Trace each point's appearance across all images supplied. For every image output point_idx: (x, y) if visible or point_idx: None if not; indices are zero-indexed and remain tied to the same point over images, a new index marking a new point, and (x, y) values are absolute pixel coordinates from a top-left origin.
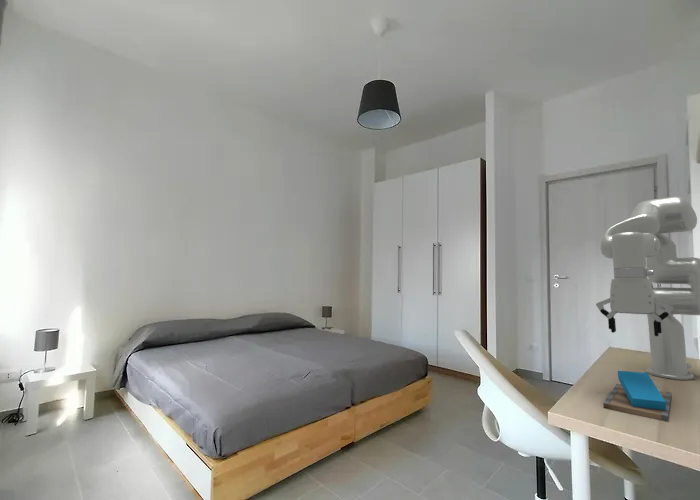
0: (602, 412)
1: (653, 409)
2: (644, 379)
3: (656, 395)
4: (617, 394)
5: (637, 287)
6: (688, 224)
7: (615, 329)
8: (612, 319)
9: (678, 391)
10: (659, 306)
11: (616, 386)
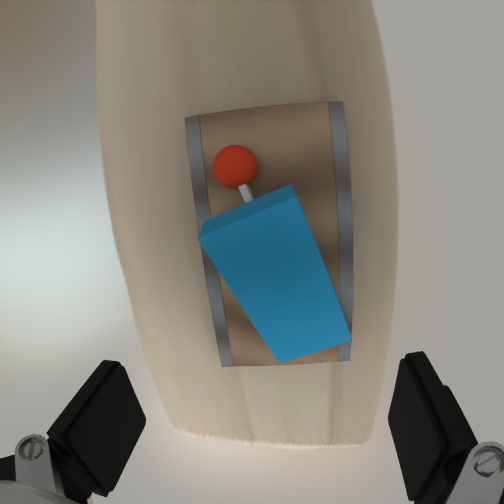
0: (232, 386)
1: None
2: (295, 256)
3: (332, 327)
4: None
5: None
6: None
7: (121, 386)
8: (106, 494)
9: (339, 16)
10: None
11: (194, 158)
